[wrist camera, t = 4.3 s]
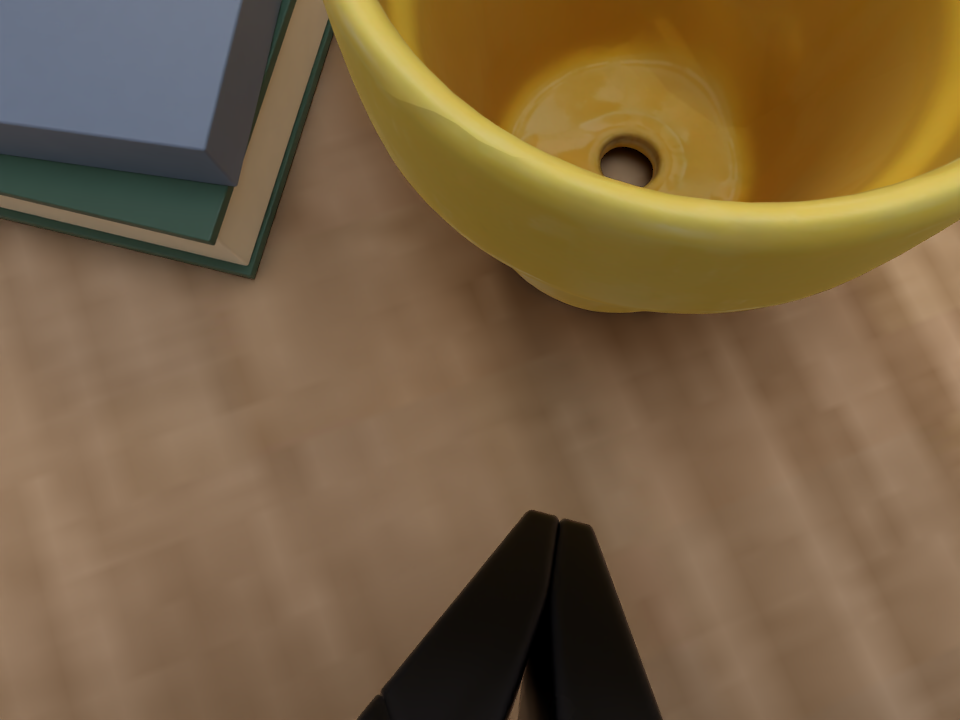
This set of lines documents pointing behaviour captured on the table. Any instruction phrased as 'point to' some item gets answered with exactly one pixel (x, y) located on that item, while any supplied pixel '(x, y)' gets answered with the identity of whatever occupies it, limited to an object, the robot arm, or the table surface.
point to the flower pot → (670, 137)
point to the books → (156, 120)
